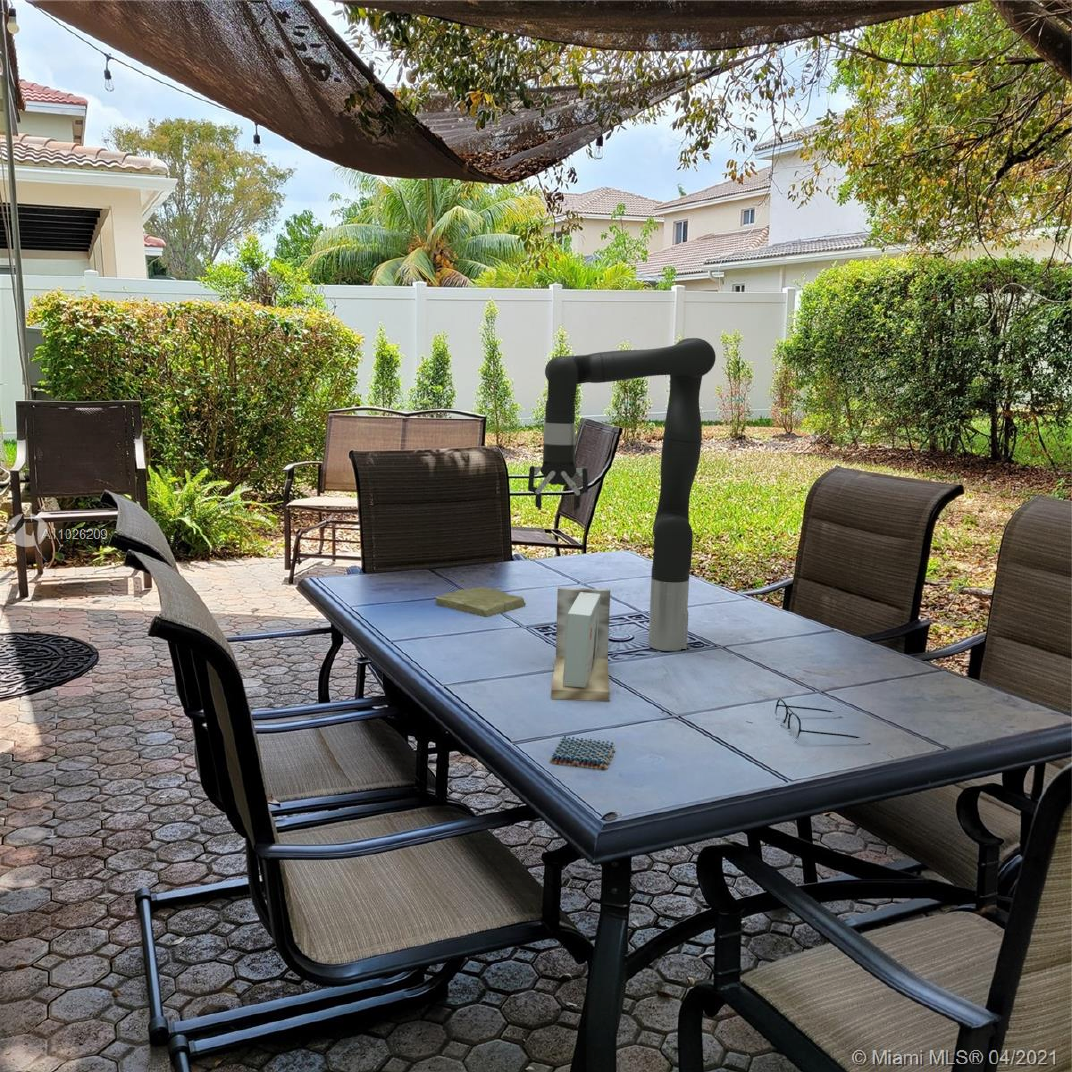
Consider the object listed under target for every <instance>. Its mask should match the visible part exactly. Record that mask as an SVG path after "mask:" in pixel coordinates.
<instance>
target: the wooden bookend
mask: <svg viewBox="0 0 1072 1072" xmlns="http://www.w3.org/2000/svg"><path fill="white" fill-rule="evenodd" d="M580 592H585V593H595V594H601V597H600V612H599V625H598V639H597V653H596V661H595V664H594V667H593V669H592V672H591V674H590V677H589V679H588V682H587V685H586V687H585V688H582V687H571V686H563V673H564V661H565V646H566V630H567V616H568V612H569V610H570V609H571V607H572V605H573V603H574V602H575V600H576V598H577V597H578V595H579V593H580ZM556 598H557V601H556V632H555V634H556V635H555V638H556V639H555V659H554V667H553V675H552V682H551V693H550V694H551V695H550V699H552V700H572V701H573V700H574V701H594V702H595V701H597V702H599V701H600V702H610V678H609V677H610V675H609V641H610V640H609V638H610V636H609V634H610V613H611V611H610V608H611V607H610V606H611V589H609V588H586V587H585V588H584V587H583V588H581V587H579V588H578V587H557V597H556Z"/></svg>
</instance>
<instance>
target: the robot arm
mask: <svg viewBox="0 0 1072 1072" xmlns="http://www.w3.org/2000/svg"><path fill="white" fill-rule="evenodd" d="M716 356H717V355H716V352H715V349H714V348H713V346H712V344H711V343H710V342H708V341H706V340H705V339H702V338H698V337H692V338H691V337H687V338H684V339H683V338H682V339H681V340H679V341H678V342H677V343H675V344H672V345H669V346H664V347H657V348H650V349H649V348H647V349H627V350H625V349H624V350H611V351H610V350H609V351H601V352H600V351H599V352H594V353H589V354H584V355H582V354H581V355H579V354H578V355H563V356H562V355H561V356H560V355H559V356H556V357H552V359H550V360H549V361H548V362H547V364H546V365H545V368H544V369H545V370H544V375H545V378H546V380H547V399H546V402H545V410H544V413H545V414H544V417H545V418H544V428H543V438H542V441H543V446H542V447H543V449H542V465H541V466H535V465H530V467H529V471H528V473H529V474H528V482H527V483H528V485H527V491H529V492H531V493H534V494H535V495H534V496H535V501H534V504H535V508H537V509H538V511H542V502H543V501H542V499H543V498H542V495H543V494H542V491H543V490H544V489H545V488H546V487H547V485H548V484H550V485H552V486H556V485H559V486H565V485H568V486H569V488H570V489H571V490H572V492H573V493H574V495H573V498H574V499H573V511H574V512H577V511H578V510H579V509H580V507H581V495H583V494H587V493H588V492H589V478H588V476H589V475H588V467H587V466H583V467H576V465H575V462H576V461H575V460H576V458H575V456H576V397H577V396H576V395H577V388H578V385H580V384H585V383H587V384H588V383H590V384H591V383H592V384H603V383H609V382H610V383H611V382H619V381H626V380H632V379H640V378H645V377H646V378H647V377H656V376H669V395H668V396H669V398H668V405H667V410H666V414H665V415H666V416H665V421H664V423H665V424H664V430H663V435H662V436H663V437H662V447H661V458H660V459H661V460H660V490H659V497H658V498H659V499H658V504H657V509H656V513H655V518H654V521H653V524H652V525H653V526H652V535H653V536H652V537H653V556H652V557H653V558H652V560H653V561H652V565H651V566H652V567H651V579H650V583H651V584H650V600H649V602H650V603H649V618H648V619H649V622H648V639H647V640H648V644H647V645H648V647H650V648H652V649H654V650H657V651H667V652H676V651H682V650H681V649H687V647H688V630H689V610H688V609H689V608H688V605H689V591H690V590H689V589H690V588H689V587H690V575H691V573H690V572H691V568H692V555H693V544H694V543H693V541H694V540H693V539H694V536H693V535H694V534H693V528H692V526H691V524H690V521H689V520H690V517H689V516H690V515H689V514H690V496H691V491H692V487H693V483H694V481H695V477H696V474H697V471H698V467H699V461H700V458H701V457H700V456H701V448H702V438H703V430H702V429H703V427H702V418H701V408H700V392H701V385H702V381H703V376H705V375H707V374H709V372H710V371H712V369H713V368H714V366H715V363H716ZM539 472H541V474H542V476H543V477H544V479H543V480H542V481H541V483H540V484H539V485H538V486H537V487H536V486H535V476H537V475H539ZM576 473H577V474H578V476H579V477H580V478H582V479H581V480H582V487H581V488H579V487H578V486H577V484H576V483H575V481H574V480H573V477H574V476H575V475H576ZM687 650H688V649H687Z"/></svg>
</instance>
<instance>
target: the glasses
mask: <svg viewBox="0 0 1072 1072" xmlns="http://www.w3.org/2000/svg"><path fill="white" fill-rule="evenodd" d="M780 701H781V702H782V704H779V702H780ZM779 707H782V708H784V707H785V718H784V720H783V721H782V723H784V724H785V723H787V730H788V729H790V730H791V717H792V715H793V716H795V717H796V719H797V721H798V731H797V735H796V739H797V738H799V736H800V734H801V733H809V734H818V735H830V736H838V737H839V736H840V737H846V738H853V739H857V738H860V736H857V735H851V734H850V735H849V734H841V733H833V732H824V731H822V732H821V731H814V730H805V729H804V730H803V729H802V722H801V718H800V717H799V716H798V715H797V713H794V712H793V711H792V710H791V709H790V708H794V709H800V710H801V709H802V710H811V711H820V712H827V713H831V712H834V711H832V710H828V709H821V708H814V707H805V706H794V705H787V703H786V702H785V701H784V700H783V699H781V698H779V699H778V700H777V702H776V705H775V712H774V713H775V714H776V715H777V711H778V710H777V709H778V708H779ZM789 711H790V712H789Z"/></svg>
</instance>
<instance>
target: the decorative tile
mask: <svg viewBox="0 0 1072 1072" xmlns="http://www.w3.org/2000/svg"><path fill="white" fill-rule="evenodd" d="M526 604H527V603H526V602H525V598H524V597H523V596H518V595H517V596H516V595H512V594H509V593H507V592H504V591H501V590H500V589H498V588H495V589H494V588H490V587H489V588H488V587H480V586H477V587H473V588H468V589H458V590H456V591H454V592H447V593H445V594H442V595H440V596H436V597H435V605H436V606H438V605H439V607H443V608H446V607H447V608H446V609H450V608H451V610H454V609H455V611H458V610H459V611H460V612H463V613H467V612H469V613H468V614H471V613H473V614H472V615H475V614H476V616H479V615H480V616H479V617H483V618H489V617H493V615H494V616H496V614H497V615H500V614H499V613H501V614H503V613H502V612H504V613H507V612H512V611H515V610H518V609H521V608H525V607H526ZM459 611H458V612H459Z"/></svg>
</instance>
